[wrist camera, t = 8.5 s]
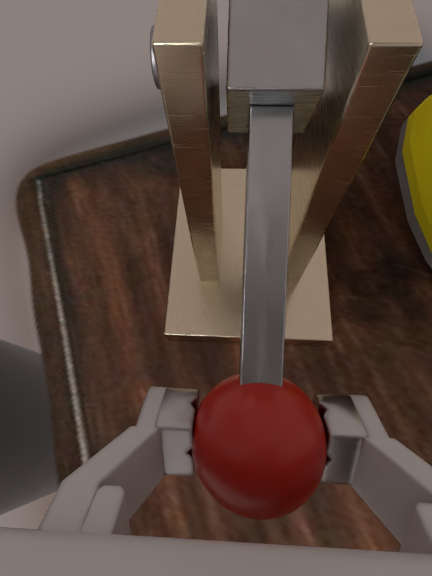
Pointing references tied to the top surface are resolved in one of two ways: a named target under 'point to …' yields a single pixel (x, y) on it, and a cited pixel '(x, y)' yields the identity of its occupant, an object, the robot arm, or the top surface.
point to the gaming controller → (417, 174)
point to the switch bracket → (305, 160)
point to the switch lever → (266, 269)
